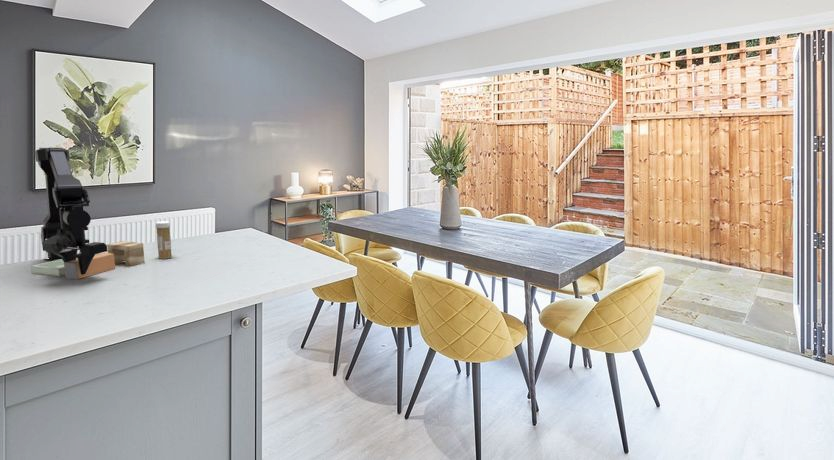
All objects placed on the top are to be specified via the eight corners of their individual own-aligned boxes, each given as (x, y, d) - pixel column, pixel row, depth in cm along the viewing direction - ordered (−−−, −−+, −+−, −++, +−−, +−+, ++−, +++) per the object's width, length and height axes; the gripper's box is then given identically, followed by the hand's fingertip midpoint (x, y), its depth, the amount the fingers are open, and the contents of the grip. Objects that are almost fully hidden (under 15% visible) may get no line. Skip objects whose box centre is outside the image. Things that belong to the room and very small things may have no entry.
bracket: (108, 264, 160) (107, 244, 159) (123, 260, 166) (121, 241, 164) (130, 266, 158) (128, 246, 157) (144, 262, 164) (143, 243, 162)
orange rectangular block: (65, 278, 142) (63, 262, 141) (105, 267, 156) (104, 252, 155) (75, 279, 141) (74, 263, 140) (115, 268, 155) (113, 253, 154)
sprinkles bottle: (172, 258, 170) (170, 222, 168) (158, 259, 168) (156, 223, 165) (171, 255, 174) (168, 220, 172) (157, 257, 172) (154, 221, 169)
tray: (31, 273, 146) (30, 265, 146) (93, 258, 167) (92, 251, 167) (59, 276, 144) (58, 269, 144) (118, 260, 165) (117, 254, 164)
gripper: (21, 226, 136) (27, 277, 138) (72, 230, 131) (77, 283, 134) (58, 221, 146) (63, 268, 149) (106, 224, 142) (110, 273, 145)
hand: (77, 273), depth 144 cm, fingers closed on orange rectangular block, 4 cm apart
